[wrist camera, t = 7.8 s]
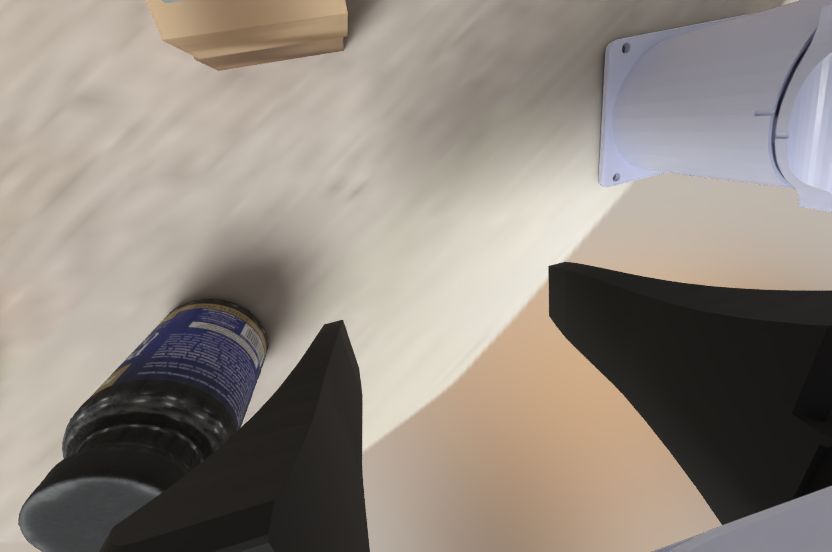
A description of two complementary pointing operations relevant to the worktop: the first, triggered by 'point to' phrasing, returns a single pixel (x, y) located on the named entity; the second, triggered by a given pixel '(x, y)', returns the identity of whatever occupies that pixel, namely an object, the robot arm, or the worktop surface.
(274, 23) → the slab upper
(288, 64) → the worktop surface
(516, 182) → the worktop surface
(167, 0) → the cube
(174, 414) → the pill bottle
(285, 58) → the slab lower
